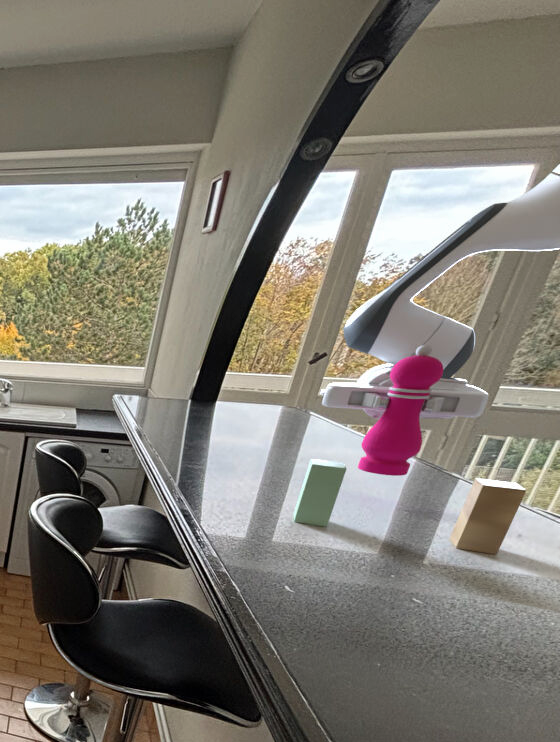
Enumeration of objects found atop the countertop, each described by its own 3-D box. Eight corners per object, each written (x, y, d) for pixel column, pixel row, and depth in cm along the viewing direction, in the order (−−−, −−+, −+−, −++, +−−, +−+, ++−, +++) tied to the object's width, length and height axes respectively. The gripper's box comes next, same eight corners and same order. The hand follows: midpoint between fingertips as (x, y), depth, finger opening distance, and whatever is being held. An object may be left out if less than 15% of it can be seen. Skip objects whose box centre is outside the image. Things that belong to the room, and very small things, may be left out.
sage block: (324, 519, 91) (344, 462, 87) (326, 527, 88) (346, 468, 84) (293, 514, 93) (310, 458, 89) (293, 521, 90) (312, 464, 86)
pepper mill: (389, 478, 94) (436, 346, 86) (342, 467, 100) (383, 344, 93) (422, 474, 96) (470, 346, 88) (374, 464, 102) (415, 343, 95)
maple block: (488, 545, 81) (516, 482, 78) (496, 554, 78) (526, 490, 75) (448, 539, 83) (474, 478, 80) (455, 548, 80) (483, 484, 77)
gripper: (324, 372, 108) (330, 380, 97) (479, 380, 97) (504, 389, 87) (313, 407, 110) (318, 418, 100) (464, 418, 100) (487, 431, 89)
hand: (406, 404), depth 93 cm, fingers closed on pepper mill, 4 cm apart
